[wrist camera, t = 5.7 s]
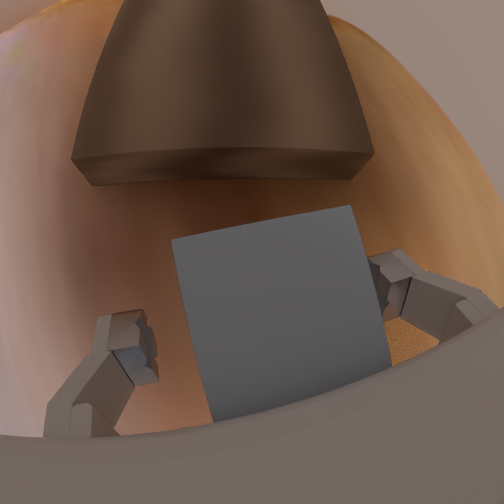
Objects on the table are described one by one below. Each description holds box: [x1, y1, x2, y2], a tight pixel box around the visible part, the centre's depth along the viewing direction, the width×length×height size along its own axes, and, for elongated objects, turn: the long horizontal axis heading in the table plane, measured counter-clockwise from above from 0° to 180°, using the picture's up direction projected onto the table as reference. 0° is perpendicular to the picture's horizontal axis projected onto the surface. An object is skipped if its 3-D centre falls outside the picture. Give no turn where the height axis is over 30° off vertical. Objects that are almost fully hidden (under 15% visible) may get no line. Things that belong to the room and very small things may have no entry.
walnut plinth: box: [71, 0, 374, 186], centre depth 16 cm, size 14×14×3 cm
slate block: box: [171, 205, 392, 423], centre depth 10 cm, size 4×4×8 cm
